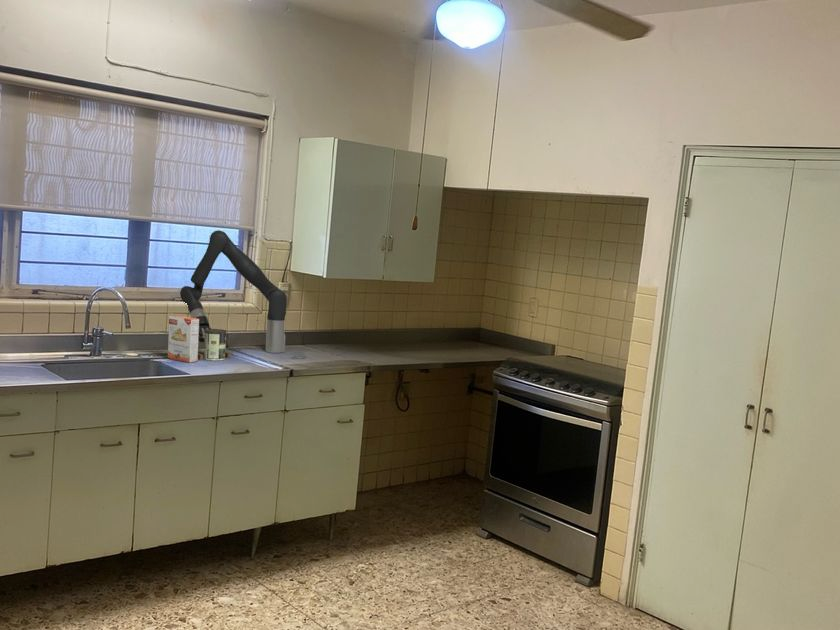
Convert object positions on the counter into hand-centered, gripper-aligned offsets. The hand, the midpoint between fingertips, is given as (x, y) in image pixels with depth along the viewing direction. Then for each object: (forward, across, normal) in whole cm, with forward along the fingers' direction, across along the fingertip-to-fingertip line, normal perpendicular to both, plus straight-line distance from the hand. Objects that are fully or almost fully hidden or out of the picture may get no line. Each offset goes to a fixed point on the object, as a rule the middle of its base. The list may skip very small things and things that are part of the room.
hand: (209, 347), depth 390 cm
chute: (+4, 0, +2) cm, 5 cm away
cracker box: (+7, -16, 0) cm, 17 cm away
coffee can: (+7, 0, -1) cm, 7 cm away
